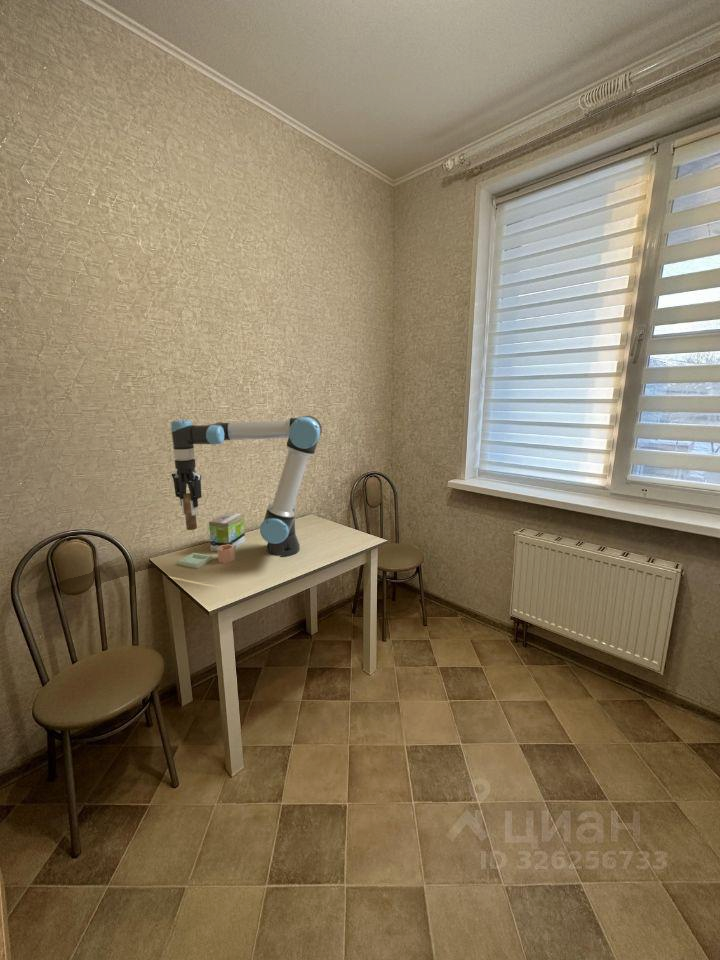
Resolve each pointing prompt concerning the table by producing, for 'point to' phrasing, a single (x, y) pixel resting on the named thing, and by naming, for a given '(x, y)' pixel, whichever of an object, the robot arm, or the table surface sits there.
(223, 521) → the tea box
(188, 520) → the dowel
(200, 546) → the table surface
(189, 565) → the tray
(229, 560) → the cup
